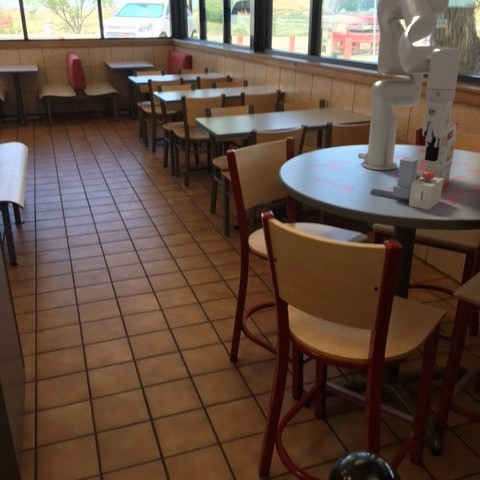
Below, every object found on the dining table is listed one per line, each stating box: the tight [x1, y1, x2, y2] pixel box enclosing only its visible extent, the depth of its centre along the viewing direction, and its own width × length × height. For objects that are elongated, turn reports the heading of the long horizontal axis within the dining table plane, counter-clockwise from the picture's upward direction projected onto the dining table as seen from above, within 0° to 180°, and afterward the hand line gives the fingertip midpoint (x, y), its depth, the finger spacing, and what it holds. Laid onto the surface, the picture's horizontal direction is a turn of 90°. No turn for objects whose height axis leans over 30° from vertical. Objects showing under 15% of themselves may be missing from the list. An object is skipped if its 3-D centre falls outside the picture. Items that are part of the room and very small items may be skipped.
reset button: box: [421, 170, 435, 183], centre depth 151 cm, size 3×3×3 cm
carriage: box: [392, 157, 419, 199], centre depth 155 cm, size 5×7×11 cm
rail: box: [369, 188, 410, 202], centre depth 160 cm, size 14×2×1 cm, turn 52°
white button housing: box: [408, 176, 444, 210], centre depth 153 cm, size 6×10×7 cm, turn 142°
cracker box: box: [424, 120, 460, 190], centre depth 166 cm, size 14×6×21 cm, turn 148°
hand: (431, 160), depth 149 cm, fingers closed
